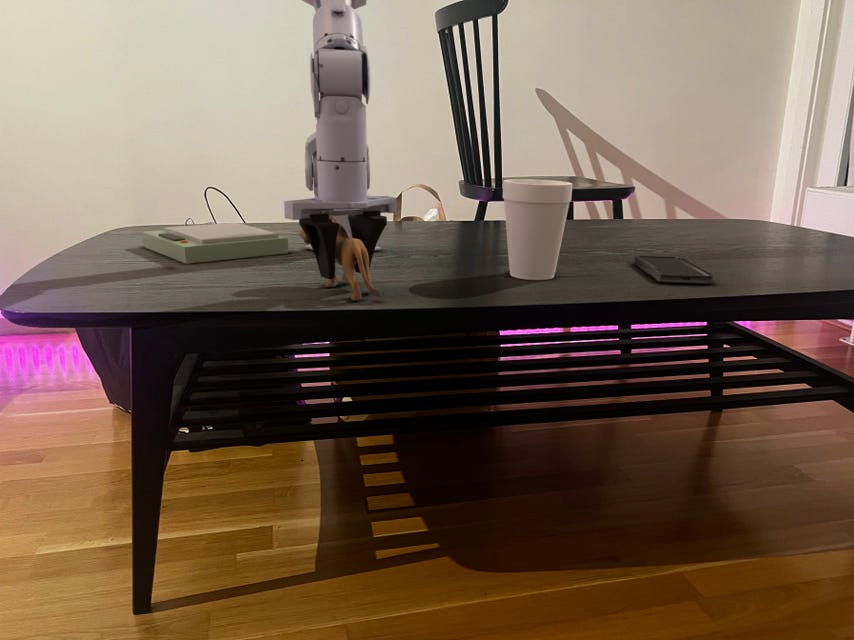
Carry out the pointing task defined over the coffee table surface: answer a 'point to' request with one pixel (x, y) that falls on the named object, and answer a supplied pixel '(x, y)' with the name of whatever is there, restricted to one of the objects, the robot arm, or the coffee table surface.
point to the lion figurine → (349, 261)
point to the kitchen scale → (214, 242)
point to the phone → (673, 270)
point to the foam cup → (535, 225)
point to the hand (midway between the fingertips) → (344, 275)
